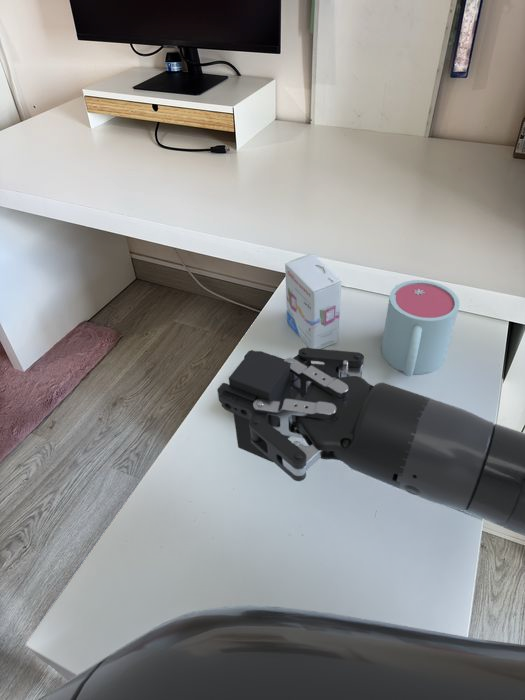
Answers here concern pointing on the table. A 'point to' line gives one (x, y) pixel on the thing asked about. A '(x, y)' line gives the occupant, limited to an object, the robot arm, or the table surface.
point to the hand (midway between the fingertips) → (234, 376)
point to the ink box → (313, 301)
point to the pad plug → (259, 389)
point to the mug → (419, 326)
